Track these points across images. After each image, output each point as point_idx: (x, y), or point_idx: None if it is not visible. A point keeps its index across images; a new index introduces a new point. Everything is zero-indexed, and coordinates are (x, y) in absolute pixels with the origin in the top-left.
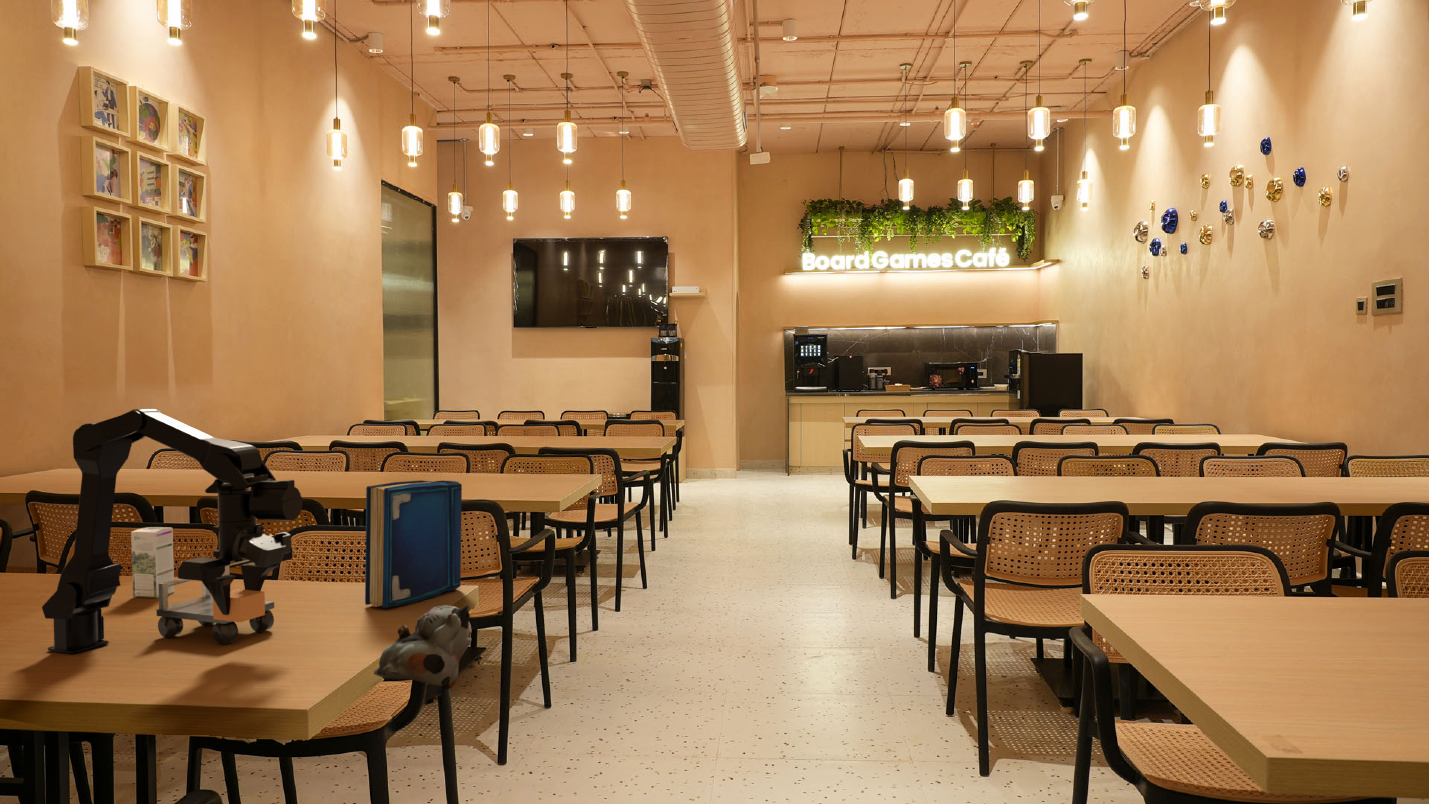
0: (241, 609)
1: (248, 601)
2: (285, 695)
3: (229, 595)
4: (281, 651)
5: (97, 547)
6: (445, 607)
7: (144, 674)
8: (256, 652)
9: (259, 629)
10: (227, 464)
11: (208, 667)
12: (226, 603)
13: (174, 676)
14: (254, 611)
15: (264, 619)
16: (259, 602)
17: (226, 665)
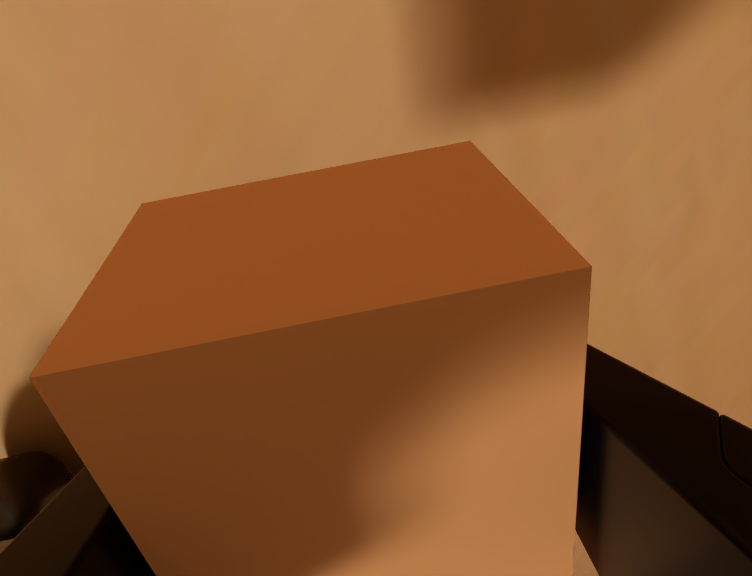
0: (494, 196)
1: (388, 258)
2: None
3: (642, 440)
4: (117, 23)
5: None
6: None
7: (720, 292)
8: (241, 159)
9: (51, 471)
10: None
11: (556, 133)
12: (619, 367)
13: (722, 144)
14: (283, 202)
15: (6, 496)
16: (185, 266)
17: (492, 73)
